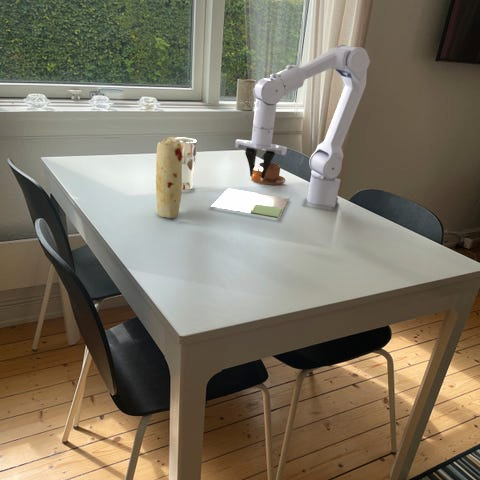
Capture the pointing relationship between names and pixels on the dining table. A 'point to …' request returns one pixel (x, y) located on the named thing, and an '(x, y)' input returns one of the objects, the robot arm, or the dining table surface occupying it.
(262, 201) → the board
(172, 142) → the food model
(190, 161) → the beer glass
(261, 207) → the corner pad
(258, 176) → the goldfish
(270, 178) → the cup and saucer
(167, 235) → the dining table surface
